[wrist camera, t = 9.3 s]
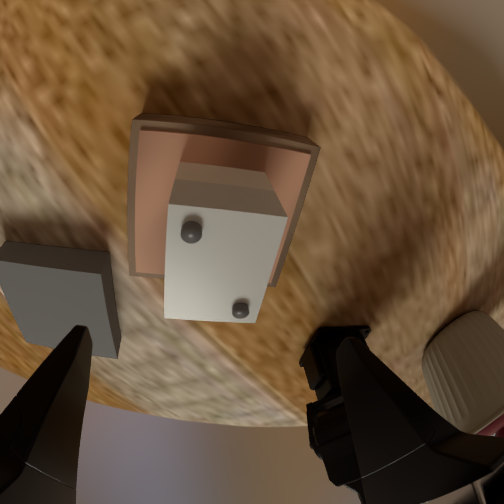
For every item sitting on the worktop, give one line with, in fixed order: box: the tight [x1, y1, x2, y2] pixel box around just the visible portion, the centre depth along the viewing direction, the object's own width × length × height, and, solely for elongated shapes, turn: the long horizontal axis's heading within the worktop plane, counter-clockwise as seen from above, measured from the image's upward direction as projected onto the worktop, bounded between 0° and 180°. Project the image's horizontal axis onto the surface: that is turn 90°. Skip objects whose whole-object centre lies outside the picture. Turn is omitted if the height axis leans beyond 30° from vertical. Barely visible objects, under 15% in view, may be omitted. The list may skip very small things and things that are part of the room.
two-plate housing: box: [164, 162, 288, 323], centre depth 14 cm, size 6×4×5 cm
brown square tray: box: [127, 113, 321, 287], centre depth 17 cm, size 10×10×2 cm
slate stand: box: [0, 241, 121, 359], centre depth 20 cm, size 10×10×2 cm
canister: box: [422, 311, 504, 437], centre depth 27 cm, size 18×18×21 cm
